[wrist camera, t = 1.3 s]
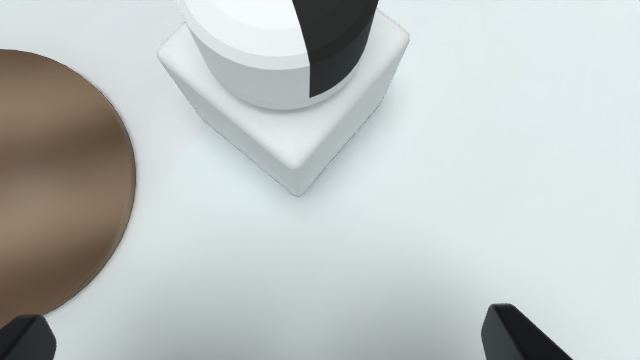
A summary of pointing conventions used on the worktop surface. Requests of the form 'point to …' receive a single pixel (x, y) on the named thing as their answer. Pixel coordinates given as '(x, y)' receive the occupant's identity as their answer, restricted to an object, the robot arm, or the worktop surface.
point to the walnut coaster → (57, 183)
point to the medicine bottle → (284, 75)
